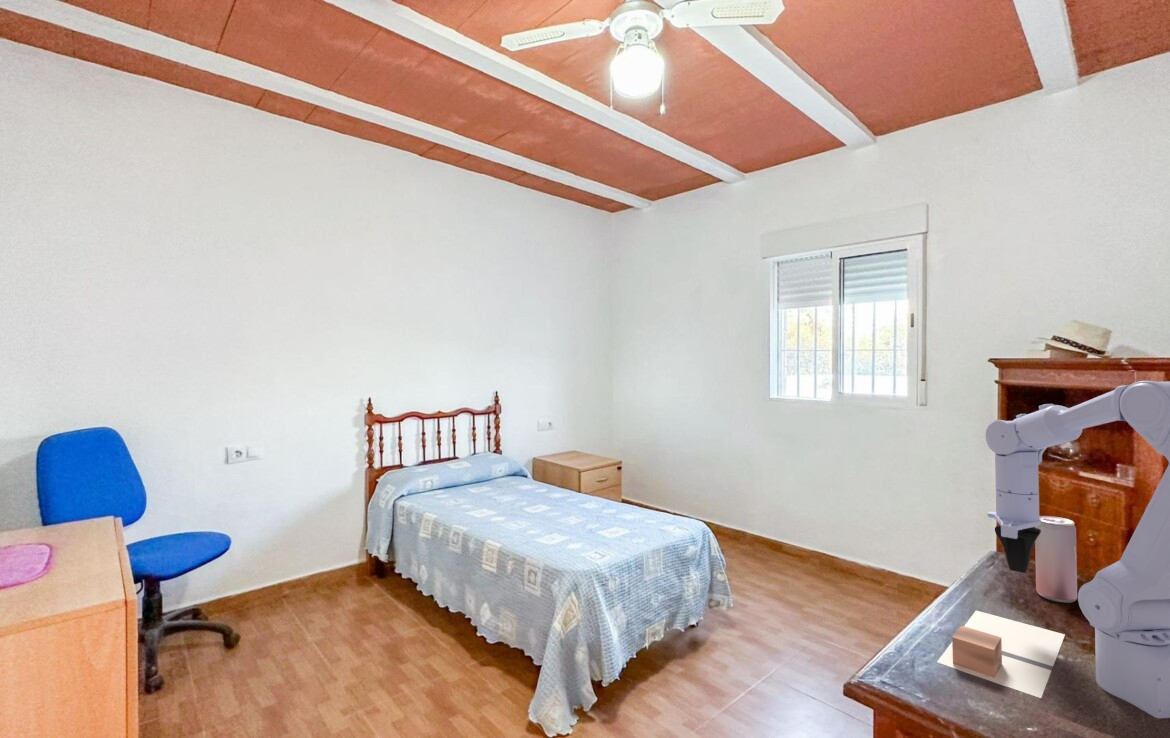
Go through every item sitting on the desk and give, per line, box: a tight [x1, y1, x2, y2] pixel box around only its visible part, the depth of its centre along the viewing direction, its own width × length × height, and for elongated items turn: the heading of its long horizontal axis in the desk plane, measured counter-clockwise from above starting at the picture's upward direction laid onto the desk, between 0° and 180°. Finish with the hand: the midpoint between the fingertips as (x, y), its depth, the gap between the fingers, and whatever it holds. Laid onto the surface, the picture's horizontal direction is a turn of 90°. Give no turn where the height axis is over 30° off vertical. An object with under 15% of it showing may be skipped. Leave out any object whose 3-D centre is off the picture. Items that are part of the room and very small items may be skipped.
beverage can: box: [1034, 515, 1078, 604], centre depth 102 cm, size 6×6×15 cm
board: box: [936, 610, 1066, 699], centre depth 83 cm, size 24×12×1 cm, turn 132°
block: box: [951, 625, 1002, 678], centre depth 79 cm, size 5×5×4 cm
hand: (1018, 570), depth 90 cm, fingers closed
